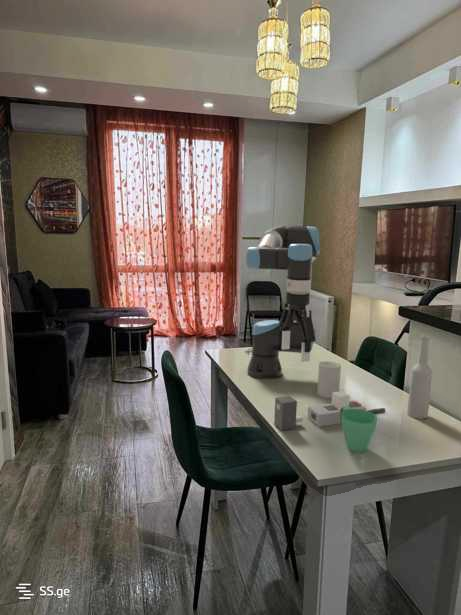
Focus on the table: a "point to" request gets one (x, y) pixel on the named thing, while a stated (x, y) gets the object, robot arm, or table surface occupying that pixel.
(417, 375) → the bottle
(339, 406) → the block
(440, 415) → the table surface
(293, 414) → the grey rectangular block
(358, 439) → the mug
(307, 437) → the table surface
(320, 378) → the pale pink cylinder
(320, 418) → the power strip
